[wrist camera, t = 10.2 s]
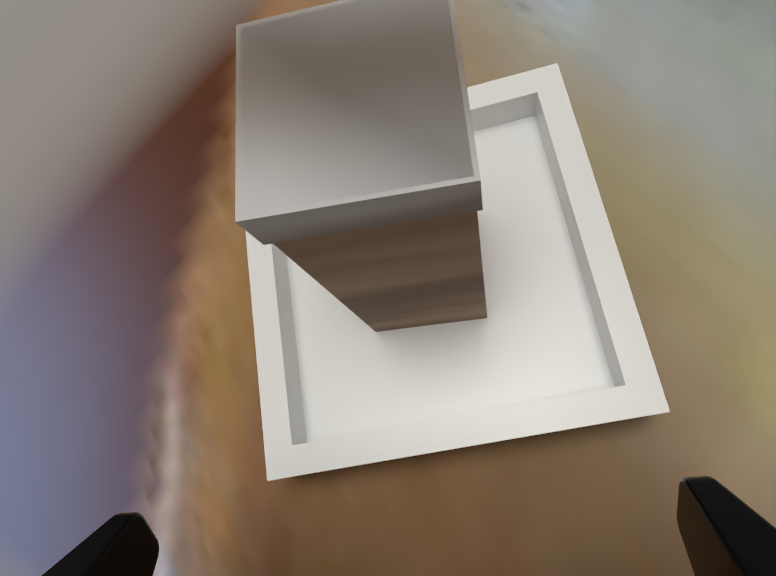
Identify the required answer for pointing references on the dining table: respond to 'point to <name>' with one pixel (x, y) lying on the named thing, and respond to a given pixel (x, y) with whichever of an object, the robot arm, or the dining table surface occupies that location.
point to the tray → (473, 337)
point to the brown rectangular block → (364, 156)
